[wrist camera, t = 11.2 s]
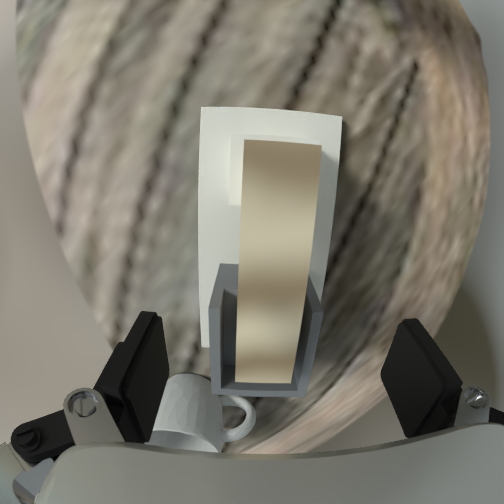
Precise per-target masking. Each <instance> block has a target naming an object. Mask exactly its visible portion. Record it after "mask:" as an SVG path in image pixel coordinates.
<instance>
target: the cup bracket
mask: <svg viewBox="0 0 504 504" xmlns="http://www.w3.org/2000/svg"><path fill="white" fill-rule="evenodd" d="M341 129H342V117H340V116H333V115H326V114H318V113H310V112H301V111H290V110H278V109H264V108H243V107H201V123H200V148H199V189H198V255H199V297H200V322H201V342H202V347H209V348H210V371H211V391H212V394H216V395H231V396H253V397H305V395H306V391H307V387H308V383H309V379H310V375H311V371H312V366H313V362H314V358H315V353H316V349H317V344H318V339H319V334H320V330H321V325H322V320H323V315H324V311H323V309H322V306H321V298H322V292H323V286H324V280H325V274H326V267H327V261H328V254H329V247H330V240H331V232H332V224H333V216H334V208H335V199H336V189H337V179H338V169H339V157H340V144H341ZM244 139H248V140H266V141H281V142H293V143H304V144H314V145H322V149H321V162H320V175H319V186H318V197H317V207H316V216H315V225H314V234H313V243H312V251H311V259H310V267H309V274H308V281H307V288H306V295H305V302H304V309H303V315H302V322H301V328H300V334H299V340H298V346H297V351H296V357H295V363H294V368H293V373H292V379H291V383H249V382H235V369H236V332H237V299H238V270H239V243H240V218H241V195H242V172H243V151H244Z"/></svg>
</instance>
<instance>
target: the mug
mask: <svg viewBox="0 0 504 504" xmlns="http://www.w3.org/2000/svg"><path fill="white" fill-rule="evenodd" d="M222 406H237V407H240V408H242V409H244V410H245V411H246V414H247V416H246V419H245V421H244V422H243V423H242V424H241V425H240V426H238V427H236V428H234V429H231V430H226V431H223V414H222ZM255 421H256V413H255V409H254V407H253V406H252V404H251V403H250V402H249V401H248V400H247V399H245V398H243V397H240V396H231V395H224V396H219V395H216V394H212V391H211V382H210V381H209V380H208V379H206V378H204V377H202V376H200V375H195V374H177V375H174V376H173V377H171V378H170V379H168V380H167V383H166V387H165V390H164V393H163V397H162V400H161V403H160V407H159V410H158V414H157V417H156V421H155V424H154V428H153V431H152V435H151V438H150V441H149V442H148V443H147V442H145V443H144V444H147V445H155V446H162V447H169V448H177V449H185V450H195V451H206V452H218V453H221V449H222V443H223V442H231V441H234V440H238V439H241V438H242V437H244V436H246V435H247V434H248V433H249V432H250V431H251V430H252V428H253V426H254V425H255Z"/></svg>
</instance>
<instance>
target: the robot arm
mask: <svg viewBox="0 0 504 504" xmlns="http://www.w3.org/2000/svg"><path fill="white" fill-rule="evenodd" d="M168 377H169V363H168V357H167V351H166V344H165V337H164V330H163V323H162V318H161V317H159V316H157V313H156V312H147V311H141V312H140V314H139V316H138V318H137V319H136V321H135V323H134V325H133V326H132V328H131V330H130V332H129V334H128V335H127V337H126V339H125V341H124V342H119V343H118V344H117V346H116V347H115V349H114V351H113V353H112V355H111V356H110V358H109V360H108V362H107V364H106V366H105V367H104V369H103V371H102V373H101V375H100V377H99V379H98V381H97V382H96V384H95V386H94V388H93V389H90V388H80V389H76V390H74V391H72V392H71V393H70V394H68V395H67V397H66V398H65V400H64V404H63V408H64V409H63V410H60V411H58V412H55V413H52V414H49V415H46V416H44V417H41V418H38V419H35V420H32V421H30V422H26V423H23V424H21V425H19V426H18V427H17V428H16V429H14V431H13V433H12V436H11V442H10V443H9V444H6V442H4V443H2V444H1V445H0V504H34V500H35V496H36V495H37V494H38V493H39V494H38V496H37V499H36V502H35V504H504V412H501V411H498V410H496V409H494V408H491V407H490V398H489V397H488V394H487V393H486V392H485V391H484V390H483V389H481V388H479V387H477V386H467V387H465V388H464V389H463V390H462V388H461V385H462V384H463V382H462V380H461V379H460V378H459V376H458V375H457V373H456V371H455V370H454V369H453V367H452V366H451V365H450V363H449V361H448V360H447V358H446V357H445V356H444V354H443V353H442V351H441V350H440V349H439V347H438V346H437V345H436V343H435V342H434V340H433V339H432V337H431V336H430V335H429V333H428V332H427V331H426V329H425V328H424V327H423V325H422V324H421V323H420V321H419V320H418V319H416V318H414V319H404V320H403V321H402V323H400V324H399V325H398V328H397V331H396V333H395V336H394V339H393V342H392V344H391V347H390V349H389V352H388V355H387V357H386V360H385V362H384V365H383V367H382V369H381V379H382V382H383V384H384V386H385V389H386V391H387V393H388V395H389V397H390V400H391V402H392V405H393V407H394V409H395V412H396V414H397V417H398V419H399V421H400V424H401V426H402V429H403V431H404V434H405V436H406V437H407V438H408V439H404V440H399V441H394V442H389V443H384V444H379V445H372V446H366V447H360V448H352V449H345V450H336V451H326V452H314V453H297V454H235V453H218V452H206V451H195V450H185V449H177V448H169V447H162V446H155V445H147V444H144V443H145V442H147V443H148V442H149V441H150V438H151V435H152V431H153V428H154V424H155V421H156V417H157V414H158V410H159V407H160V403H161V400H162V397H163V393H164V390H165V387H166V383H167V380H168Z"/></svg>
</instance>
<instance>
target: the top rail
mask: <svg viewBox="0 0 504 504" xmlns="http://www.w3.org/2000/svg"><path fill="white" fill-rule="evenodd" d="M321 149H322V145H314V144H304V143H293V142H281V141H266V140H248V139H244V151H243V172H242V195H241V218H240V243H239V270H238V299H237V332H236V369H235V382H249V383H291V379H292V373H293V368H294V363H295V357H296V351H297V346H298V340H299V334H300V328H301V322H302V315H303V309H304V302H305V295H306V288H307V281H308V274H309V267H310V259H311V251H312V243H313V234H314V225H315V216H316V207H317V197H318V186H319V175H320V162H321Z"/></svg>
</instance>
